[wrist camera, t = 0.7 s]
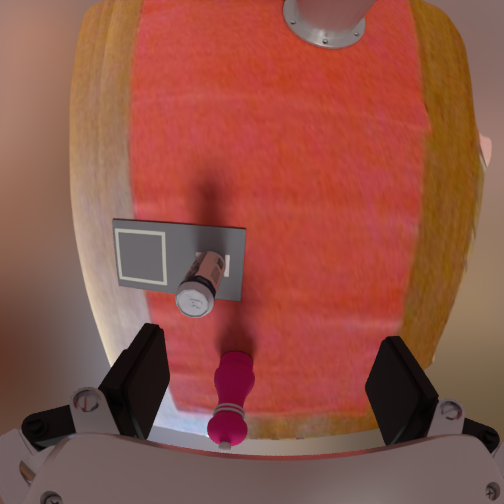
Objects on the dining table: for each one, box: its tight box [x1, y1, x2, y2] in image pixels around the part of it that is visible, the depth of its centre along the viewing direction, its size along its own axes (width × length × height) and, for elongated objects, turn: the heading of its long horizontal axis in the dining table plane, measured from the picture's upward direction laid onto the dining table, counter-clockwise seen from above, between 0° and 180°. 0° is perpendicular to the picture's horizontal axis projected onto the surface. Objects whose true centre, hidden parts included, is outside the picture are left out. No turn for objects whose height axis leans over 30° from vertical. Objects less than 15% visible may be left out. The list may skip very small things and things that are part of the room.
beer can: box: [175, 251, 226, 318], centre depth 37 cm, size 5×5×12 cm
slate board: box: [113, 220, 246, 301], centre depth 42 cm, size 12×22×1 cm, turn 86°
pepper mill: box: [207, 351, 255, 452], centre depth 40 cm, size 7×7×20 cm
